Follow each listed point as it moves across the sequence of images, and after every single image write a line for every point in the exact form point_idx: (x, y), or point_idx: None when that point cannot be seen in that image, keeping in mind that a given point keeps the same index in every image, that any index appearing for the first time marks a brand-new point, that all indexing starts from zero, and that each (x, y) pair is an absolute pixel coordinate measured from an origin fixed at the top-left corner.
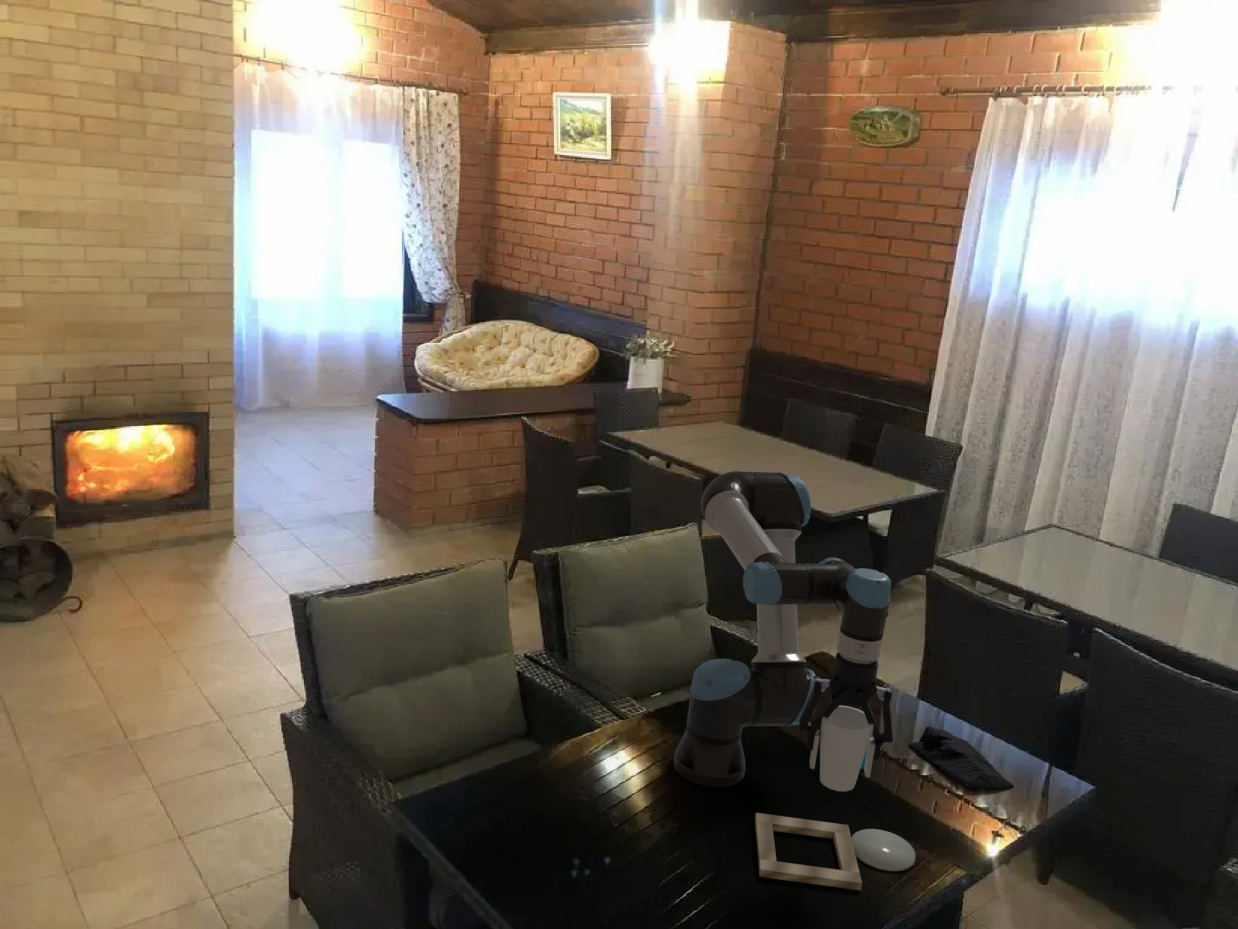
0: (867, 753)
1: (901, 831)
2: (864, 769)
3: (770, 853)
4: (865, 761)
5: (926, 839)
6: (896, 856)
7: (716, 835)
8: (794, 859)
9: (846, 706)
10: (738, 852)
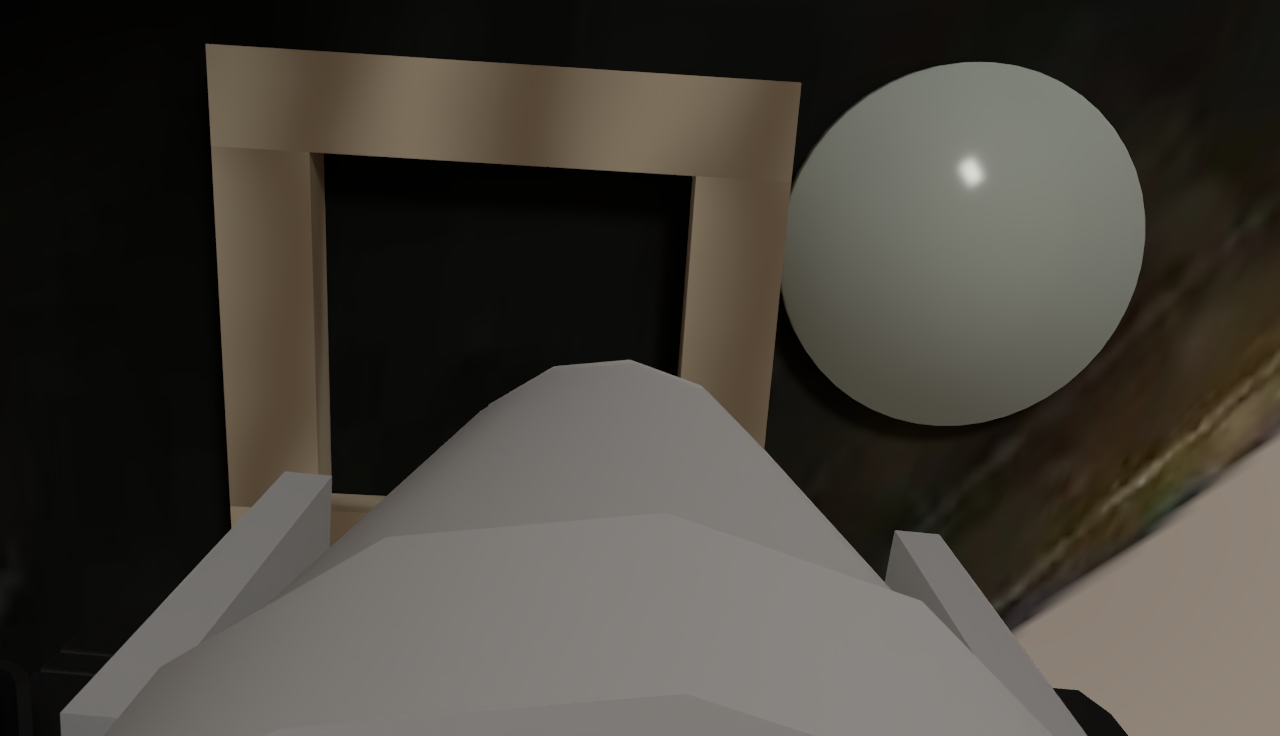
0: None
1: (1148, 12)
2: (894, 558)
3: (289, 448)
4: (924, 580)
5: (1276, 75)
6: (1015, 323)
7: (3, 252)
8: (440, 399)
9: (698, 720)
10: (137, 388)
